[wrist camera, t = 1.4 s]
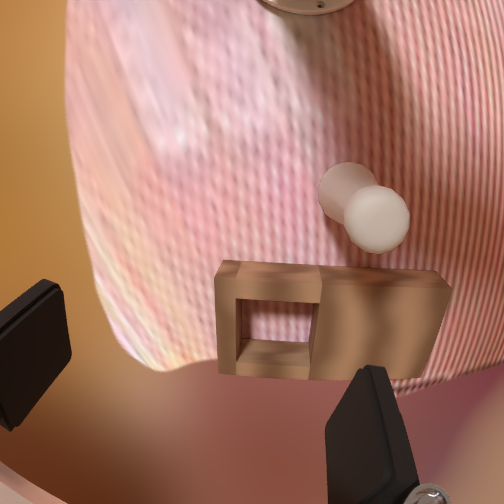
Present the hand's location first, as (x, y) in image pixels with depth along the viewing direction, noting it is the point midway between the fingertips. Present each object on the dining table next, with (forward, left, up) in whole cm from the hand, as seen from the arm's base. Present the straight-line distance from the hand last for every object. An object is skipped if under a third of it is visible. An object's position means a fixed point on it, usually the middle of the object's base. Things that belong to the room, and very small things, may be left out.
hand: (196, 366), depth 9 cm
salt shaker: (-7, +5, -24) cm, 26 cm away
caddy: (+3, +15, -24) cm, 28 cm away
